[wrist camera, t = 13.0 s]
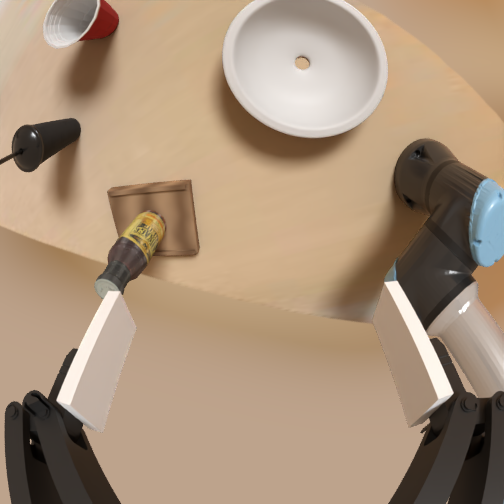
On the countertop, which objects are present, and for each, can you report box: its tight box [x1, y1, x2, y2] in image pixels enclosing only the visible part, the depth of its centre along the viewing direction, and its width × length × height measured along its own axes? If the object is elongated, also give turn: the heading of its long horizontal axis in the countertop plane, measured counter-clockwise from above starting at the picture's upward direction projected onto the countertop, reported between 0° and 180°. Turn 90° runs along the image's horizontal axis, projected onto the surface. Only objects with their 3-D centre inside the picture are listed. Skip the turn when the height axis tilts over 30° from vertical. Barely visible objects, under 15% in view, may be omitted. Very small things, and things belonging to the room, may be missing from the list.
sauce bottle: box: [95, 210, 166, 300], centre depth 40 cm, size 7×6×20 cm
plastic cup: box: [43, 0, 119, 49], centre depth 23 cm, size 11×11×12 cm
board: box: [107, 180, 200, 256], centre depth 49 cm, size 16×14×3 cm
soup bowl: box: [222, 0, 388, 138], centre depth 32 cm, size 24×24×7 cm
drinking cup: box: [0, 118, 81, 172], centre depth 31 cm, size 8×8×20 cm
